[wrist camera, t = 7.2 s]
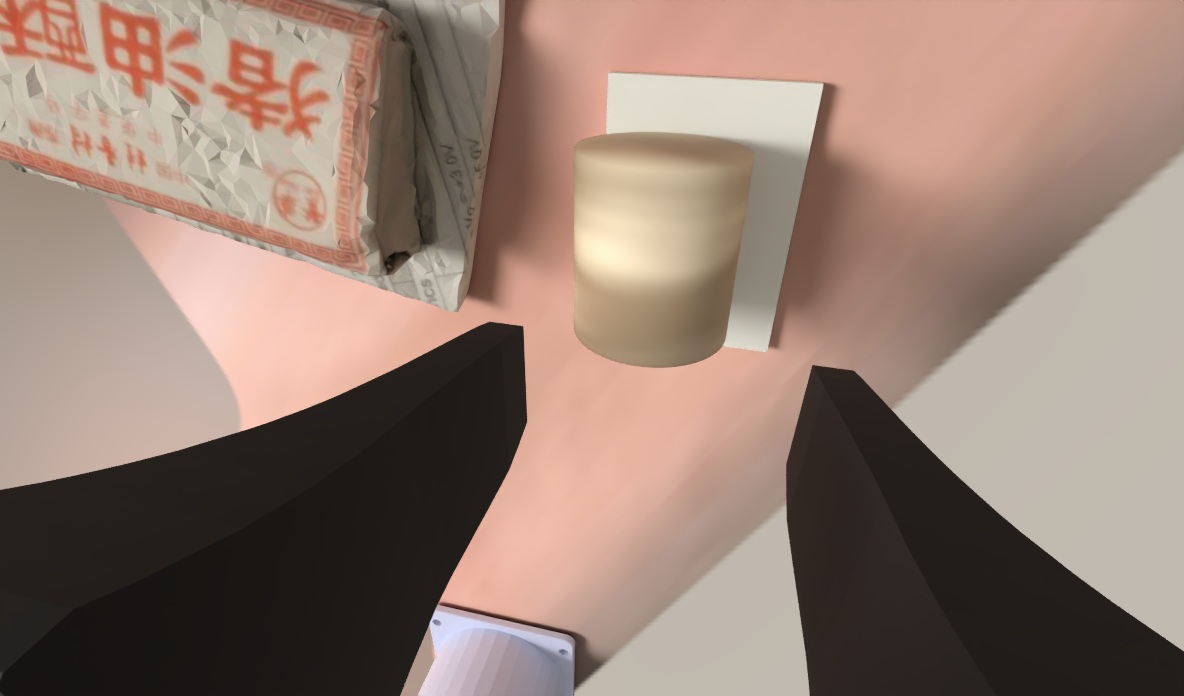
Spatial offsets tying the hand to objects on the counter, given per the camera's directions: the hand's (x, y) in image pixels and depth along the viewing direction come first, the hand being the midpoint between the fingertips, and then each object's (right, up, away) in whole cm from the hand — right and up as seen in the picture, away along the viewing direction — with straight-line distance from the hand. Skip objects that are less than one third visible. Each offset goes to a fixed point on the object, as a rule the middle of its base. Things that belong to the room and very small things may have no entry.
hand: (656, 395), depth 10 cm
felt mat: (+2, +5, +8) cm, 9 cm away
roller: (+1, +5, +8) cm, 9 cm away
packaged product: (-13, +10, +10) cm, 19 cm away
